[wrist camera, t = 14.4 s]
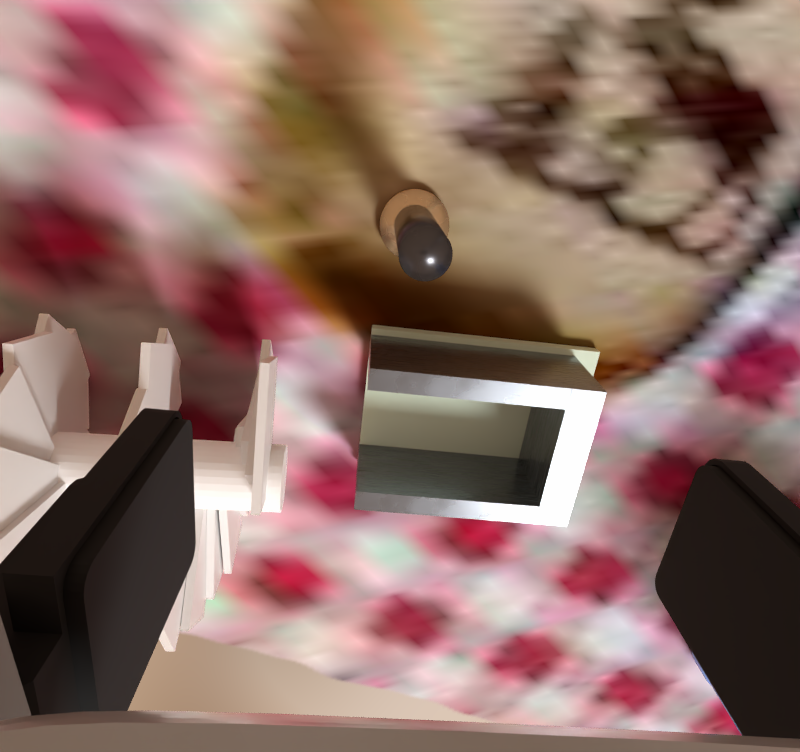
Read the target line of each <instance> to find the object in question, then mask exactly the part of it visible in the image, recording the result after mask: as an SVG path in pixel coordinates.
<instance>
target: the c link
mask: <svg viewBox="0 0 800 752" xmlns="http://www.w3.org/2000/svg"><path fill="white" fill-rule="evenodd" d="M367 390H372V391H382V392H392V393H402V394H412V395H423V396H433V397H443V398H453V399H463V400H473V401H484V402H494V403H504V404H514V405H524V406H531V410H530V414H529V418H528V422H527V426H526V430H525V435H524V439H523V443H522V447H521V451H520V455H519V458H510V457H499V456H488V455H477V454H466V453H455V452H444V451H433V450H422V449H411V448H400V447H389V446H378V445H367V444H359V451H358V460H357V474H356V489H355V503H354V509H356V510H368V511H380V512H393V513H405V514H417V515H430V516H442V517H454V518H467V519H479V520H491V521H504V522H516V523H528V524H541V525H553V526H565V527H567V525H568V521H569V518H570V514H571V511H572V508H573V504H574V501H575V498H576V494H577V491H578V488H579V484H580V481H581V478H582V474H583V471H584V467H585V464H586V461H587V457H588V454H589V451H590V447H591V444H592V441H593V437H594V434H595V430H596V427H597V424H598V420H599V417H600V414H601V410H602V407H603V404H604V400H605V397H606V393H607V392H606V391H605V390H604V389H603V387H602V386H601V385H600V384H599V383H598V382H597V381H596V379H595V378H594V377H593V376H592V375H591V374H590V373H589V372H588V370H587V369H586V368H585V367H584V366H583V365H582V364H581V362H580V361H579V360H578V359H577V358H576V357H575V356H570V355H561V354H551V353H542V352H533V351H523V350H514V349H504V348H495V347H486V346H476V345H467V344H457V343H448V342H439V341H429V340H420V339H410V338H401V337H392V336H382V335H373V334H371V341H370V350H369V367H368V388H367Z"/></svg>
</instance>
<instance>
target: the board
mask: <svg viewBox="0 0 800 752" xmlns="http://www.w3.org/2000/svg"><path fill="white" fill-rule="evenodd" d="M371 334H373V335H382V336H392V337H401V338H410V339H420V340H429V341H439V342H448V343H457V344H467V345H476V346H486V347H495V348H504V349H514V350H523V351H533V352H542V353H551V354H561V355H570V356H575V357H576V358H577V359H578V360H579V361H580V362H581V364H582V365H583V366H584V367H585V368H586V369H587V370H588V372H589V373H590V374H591V375H592V376H594V372H595V368H596V365H597V361H598V358H599V354H600V352H599V351H598V350H597V349H596V348H590V347H580V346H571V345H561V344H552V343H542V342H533V341H523V340H514V339H504V338H495V337H486V336H476V335H467V334H457V333H448V332H438V331H429V330H419V329H410V328H400V327H391V326H381V325H372V330H371ZM370 341H371V339H370ZM369 350H370V349H369ZM368 367H369V358H368ZM368 367H367V377H366V386H365V396H364V405H363V414H362V424H361V433H360V442H359V444H367V445H378V446H389V447H400V448H411V449H422V450H433V451H444V452H455V453H466V454H477V455H488V456H499V457H510V458H519V455H520V451H521V447H522V443H523V439H524V435H525V430H526V426H527V422H528V418H529V414H530V410H531V406H524V405H514V404H504V403H494V402H484V401H473V400H463V399H453V398H443V397H433V396H423V395H412V394H402V393H392V392H382V391H372V390H367V388H368Z"/></svg>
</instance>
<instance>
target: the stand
mask: <svg viewBox="0 0 800 752" xmlns="http://www.w3.org/2000/svg"><path fill="white" fill-rule="evenodd" d="M380 232H381V236H382V239H383V241H384V243H385V245H386V246H387V248H388V249H389V250H390V251H391V252H392V253H393V254H395V255H396V256H398V257H399V262H400V265H401V267H402V269H403V270H404V272H405V273H406V274H407V275H408V276H410V277H411V278H413V279H415V280H418V281H431V280H434V279H437V278H439V277H440V276H442V275H443V274H444V273H445V272H446V271H447V269H448V268H449V266H450V264H451V261H452V247H451V243H450V241H449V240H448V238H447V236H448V232H449V217H448V214H447V211H446V209H445V207H444V205H443V204H442V202H441V201H440V200H439V199H438V198H437V197H436V196H435V195H433V194H432V193H430V192H428V191H425V190H422V189H407V190H404V191H401V192H399V193H397V194H396V195H394V196H393V197H392V198H391V199H390V200H389V201H388V202H387V203H386V205H385V207H384V209H383V211H382V214H381V218H380Z"/></svg>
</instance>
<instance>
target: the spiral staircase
mask: <svg viewBox="0 0 800 752" xmlns="http://www.w3.org/2000/svg"><path fill="white" fill-rule="evenodd" d="M2 348H3V368H4V372H3V374H2V375H1V376H0V563H1V562H2V561H3V560H4V559H5V558H6V557H7V555H8V554H9V553H10V552H11V551H12V550H13V549H14V548H15V546H16V545H17V544H18V543H19V542H20V541H21V540H22V538H23V537H24V536H25V535H26V534H27V533H28V532H29V531H30V529H31V528H32V527H33V526H34V525H35V524H36V523H37V521H38V520H39V519H40V518H41V517H42V516H43V515H44V514H45V512H46V511H47V510H48V509H49V508H50V507H51V506H52V505H53V503H54V502H55V501H56V500H57V499H58V498H59V497H60V495H61V494H62V493H63V492H64V491H65V490H66V489H67V488H68V486H69V485H70V484H71V483H73V482H74V481H75V480H76V479H80V478H84V477H85V476H86V474H87V473H88V472H89V471H90V470H91V469H92V467H93V466H94V465H95V464H96V463H97V462H98V461H99V459H100V458H101V457H102V456H103V455H104V454H105V452H106V451H107V450H108V449H109V448H110V447H111V445H112V444H113V443H114V442H115V441H116V440H117V438H118V437H119V436H120V435H121V434H122V433H123V432H124V430H125V429H126V428H127V427H128V426H129V425H130V423H131V422H132V421H133V420H134V419H135V418H136V416H137V415H138V414H139V413H140V412H141V411H142V410H143V409H144V408H152V409H163V410H174V411H178V410H179V408H180V406H181V403H182V397H181V386H180V375H179V370H180V366H181V360H180V357H179V355H178V352H177V350H176V347H175V345H174V342H173V340H172V338H171V335H170V333H169V330H168V328H159V331H158V335H157V339H156V343H147V342H141V352H140V368H139V383H138V388H136V390H135V393H134V395H133V398H132V401H131V403H130V406H129V408H128V411H127V414H126V416H125V419H124V421H123V424H122V427H121V429H120V432H119V434H118V435H110V434H92V433H89V431H88V429H89V384H88V378H89V377H90V373H89V369H88V366H87V363H86V360H85V357H84V354H83V350H82V347H81V344H80V341H79V338H78V335H77V331H76V329H73V328H67V330H66V329H65V328H64V327H63V326H62V325H61V324H59V323H58V322H57V321H56V320H55V319H54V318H53V317H51V316H50V315H49V314H42V313H39V317H38V321H37V325H36V329H35V333H34V335H30V336H27V337H23V338H20V339H16V340H12V341H9V342H5V343H2ZM277 360H278V357H276V356H273V352H272V345H271V340H264V339H262V346H261V354H260V361H259V369H258V374H257V378H256V382H255V386H254V390H253V394H252V398H251V402H250V406H249V410H248V413H247V415H246V416H245V417H244V418H243V419H242V421H241V422H240V423H239V424H238V425H237V428H235V435H234V442H229V441H212V440H195V439H193V466H194V500H195V534H196V546H195V553H194V558H193V561H192V564H191V566H190V569H189V571H188V573H187V575H186V578H185V580H184V582H183V585H182V587H181V589H180V591H179V594H178V596H177V598H176V601H175V603H174V605H173V607H172V610H171V612H170V614H169V617H168V619H167V621H166V623H165V626H164V628H163V630H162V633H161V635H160V637H159V640H160V642H161V644H162V645H163V647H164V649H165V651H175V648H176V644H177V640H178V635H179V631H190V630H191V629H192V628H193V627H194V626H195V625H196V624H197V623H198V622H199V621H200V620H201V619H202V618H203V617H204V610H205V601H206V599H214V597H215V594H216V591H217V588H218V585H219V582H220V579H221V576H222V573H223V570H224V574H231V573H232V569H233V564H234V559H235V555H236V550H237V545H238V540H239V536H240V531H241V526H242V521H241V515H242V516H249V511H251V515H260V514H261V512H281V511H282V507H283V501H284V494H285V484H286V473H287V455H288V450H287V445H281V444H272V437H273V421H274V406H275V390H276V375H277ZM180 626H181V627H180Z"/></svg>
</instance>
